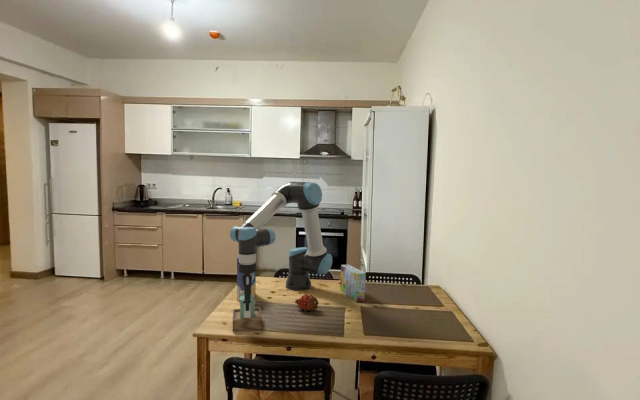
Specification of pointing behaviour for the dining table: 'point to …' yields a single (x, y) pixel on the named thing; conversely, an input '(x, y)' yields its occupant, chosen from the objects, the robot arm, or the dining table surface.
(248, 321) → the tray
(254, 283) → the beverage box
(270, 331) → the dining table surface
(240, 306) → the block
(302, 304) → the dragon fruit
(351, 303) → the dining table surface
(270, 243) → the robot arm
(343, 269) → the snack box
